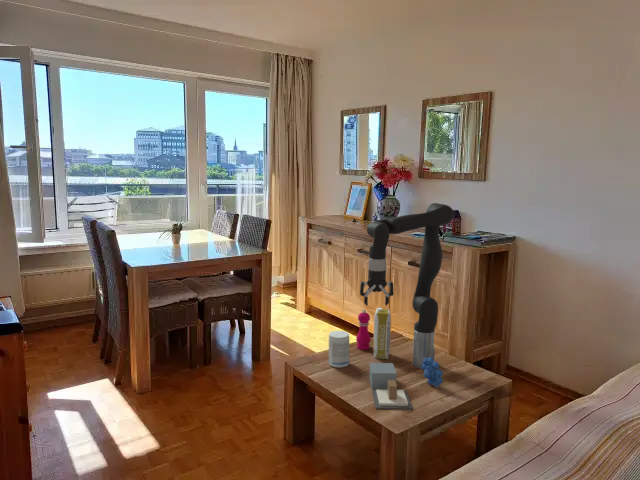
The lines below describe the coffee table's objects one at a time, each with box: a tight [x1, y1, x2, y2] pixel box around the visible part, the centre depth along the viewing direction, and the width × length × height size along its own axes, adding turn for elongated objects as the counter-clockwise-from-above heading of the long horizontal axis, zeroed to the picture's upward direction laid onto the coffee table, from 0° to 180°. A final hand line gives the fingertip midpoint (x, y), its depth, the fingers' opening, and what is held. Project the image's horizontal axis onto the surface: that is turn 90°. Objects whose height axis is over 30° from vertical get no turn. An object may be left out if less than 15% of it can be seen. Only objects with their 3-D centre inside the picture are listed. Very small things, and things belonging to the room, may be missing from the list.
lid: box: [375, 380, 408, 406], centre depth 185 cm, size 11×11×6 cm
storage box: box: [369, 362, 397, 390], centre depth 199 cm, size 10×10×7 cm
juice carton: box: [372, 307, 392, 360], centre depth 226 cm, size 9×8×24 cm
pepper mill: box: [355, 309, 372, 351], centre depth 236 cm, size 7×7×20 cm
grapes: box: [421, 357, 444, 388], centre depth 197 cm, size 12×7×12 cm, turn 31°
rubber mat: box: [371, 389, 413, 411], centre depth 186 cm, size 14×14×1 cm
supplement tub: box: [328, 330, 350, 369], centre depth 217 cm, size 10×10×15 cm
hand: (376, 304), depth 203 cm, fingers open, 8 cm apart
